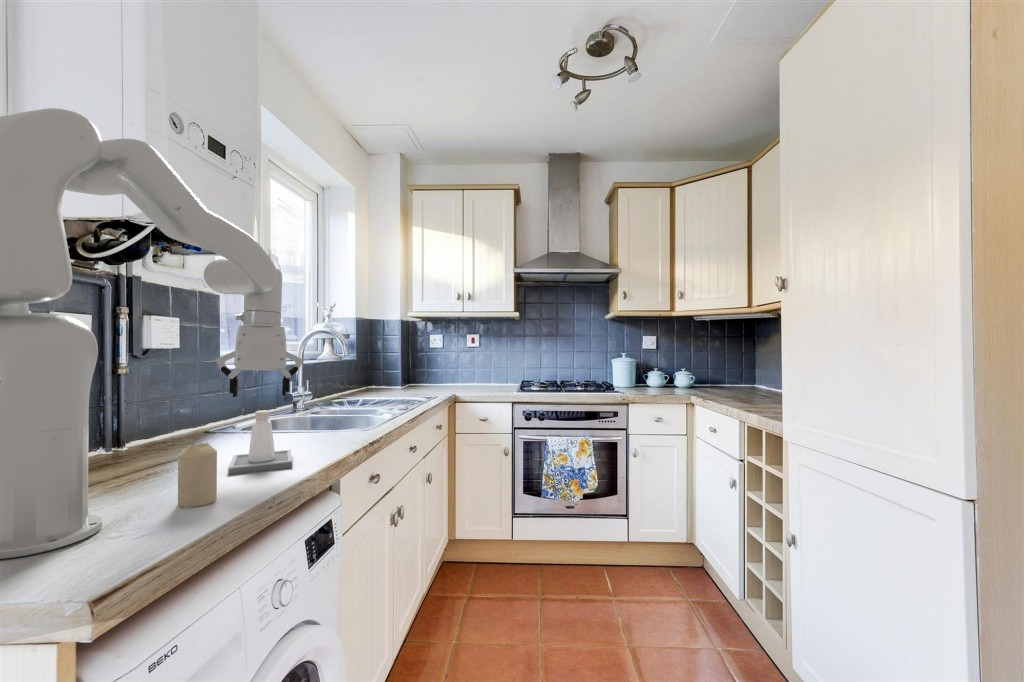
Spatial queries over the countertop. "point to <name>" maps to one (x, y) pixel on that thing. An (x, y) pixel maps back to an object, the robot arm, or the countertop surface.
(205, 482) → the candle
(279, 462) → the tray
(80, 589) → the countertop surface
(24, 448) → the robot arm
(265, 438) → the salt shaker
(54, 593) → the countertop surface
